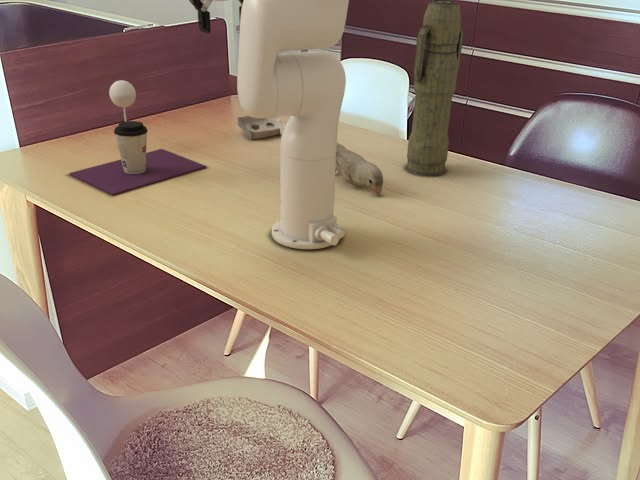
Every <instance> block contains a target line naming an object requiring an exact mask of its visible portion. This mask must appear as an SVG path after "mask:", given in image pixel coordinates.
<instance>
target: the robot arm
mask: <svg viewBox="0 0 640 480" xmlns="http://www.w3.org/2000/svg"><path fill="white" fill-rule="evenodd" d="M188 1H189V3H190V4H191V5H192V6H193V7H194V9H195V10H196V11H197V26H198V28H199V32H202V33H206V34H210V33H211V31H212V30H211V29H212V28H211V27H212V26H211V13H210V11H208V9H209V8H210V5H211V4H212V2H213V1H214V2H224V1H225V2H226V1H228V0H188ZM238 2H239V3H240V4H241V5H239V7H238V16H239V17H238V18H239V19H238V20H239V21H238V22H239V37H238V38H239V39H238V40H239V42H238V55H237V57H238V58H237V74H236V75H237V78H236V80H237V81H236V89H237V90H236V91H237V99H238V103H239V105H240V108H241V109H242V111H243V113H244V114H245V115H246V116H250V117H252V118H258V119H263V118H276V117H278V118H284V117H289V119H288V120H287V123H285V125H286V126H285V128H284V130H283V133H282V135H281V136H280V147H279V149H280V154H279V155H280V157H279V161H280V162H279V165H280V167H279V168H280V172H279V177H280V179H279V181H280V182H279V183H280V184H279V187H280V192H279V194H280V195H279V198H280V200H279V205H280V206H279V209H280V210H279V212H280V213H279V220H278V221H277V222H275V223H274V224H273V225H272V227H271V237H272V239H273V240H274V241H275V242H276V243H278V244H280V245H282V246H285V247H287V248H292V249H297V250H319V249H324V248H328V247H331V246H336V245H337V244H338V243H339V241H340V240H341V239H342V238H343V237H344V236H345V231H344V229H342V228H341V226H340V225H339V224H338V223H337V222H338V221H337V220H338V216H335V214H334V213H335V191H336V172H337V170H336V150H337V143H338V133H339V132H338V130H339V122H340V116H341V110H342V106H343V101H344V97H345V92H346V84H347V77H346V71H345V68H344V66H343V64H342V61H340V60H339V58H337V57H336V56H334V55H333V54H331V53H328V52H326V51H325V52H324V51H311V50H318V49H319V50H320V49H325V48H330V47H333V46H334V45H336V44H338V43H339V42H340V40H341V38H342V37H343V34H344V32H345V31H344V30H345V27H346V21H347V16H348V9H349V3H350V0H238ZM307 50H310V51H307ZM292 51H294V52H292ZM296 51H298V52H296ZM281 52H287V53H281ZM335 171H336V172H335Z"/></svg>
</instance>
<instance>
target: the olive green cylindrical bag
mask: <svg viewBox="0 0 640 480" xmlns="http://www.w3.org/2000/svg"><path fill="white" fill-rule="evenodd" d="M460 7H461V6H460V3H458V2H457V1H456V0H432V1H429V2H428V5H427V7H426V9H425V12H424V15H423V21H422V26H421V27H420V29H419V31H418V33H417V35H416V46H415V55H414V64H413V65H414V66H413V81H414V84H413V91H414V93H415V94H414V103H413V104H414V106H413V115H412V126H411V133H410V135H409V137H408V141H407V150H406V151H407V152H406V158H407V163H406V168H405V169H406V170H407V172H409V173H411V174H414V175H418V176H425V177H434V176H440V175H443V174H444V173H445V171H446V163H447V161H448V153H449V145H450V139H449V136H448V134H449V125H450V117H451V109H452V103H453V102H452V101H453V97H454V94H455V92H456V89H457V87H456V86H457V80H458V73H459V72H460V64H461V56H462V48H463V41H464V33H465V31H464V29H463V26H462V25H461V24H462V13H461V8H460Z"/></svg>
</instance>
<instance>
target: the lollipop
mask: <svg viewBox="0 0 640 480" xmlns="http://www.w3.org/2000/svg"><path fill="white" fill-rule="evenodd" d="M108 93H109V98H110V100H111V102H112V103H113V105H115V106H117V107H120V108H122V109H123V118H124V119H123V120H124V122H125V121H128V120H127V111H126V109H127V108H129V107H130V106H133V104H134V103H135V101H136V99H137V91H136V89H135V87H134V85H133V84H132V83H130V82H129V81H127V80H122V79H121V80H120V79H119V80H116V81H115V82H113V83H112V84H111V86H110V87H109V92H108Z"/></svg>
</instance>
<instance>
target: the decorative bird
mask: <svg viewBox="0 0 640 480" xmlns="http://www.w3.org/2000/svg"><path fill="white" fill-rule="evenodd" d="M336 172H337V174H339V175H340V176H341V177H342V178H343V179H344V180H345V181H346V182H347V183H349V184H351V185H353V186H354V185H355V186H358V187H367V186H368V187H370V189H371V190H372V191H373V192H374V193H375V194H376V196H378V197H379V196H380V195H381V192H382V189H383V185H384V175H383V172H382V170H381V169H380V167H379V166H377V165H376V164H374V163H372V162H370V161H367V160H366V159H365V158H364V157H363V156H362V155H360V154H358V153H356V152H355V151H352V150H349V149H348V148H346V147H345V146H344V145H342V144H340V143H339V142H337V150H336V171H335V173H336Z"/></svg>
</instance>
